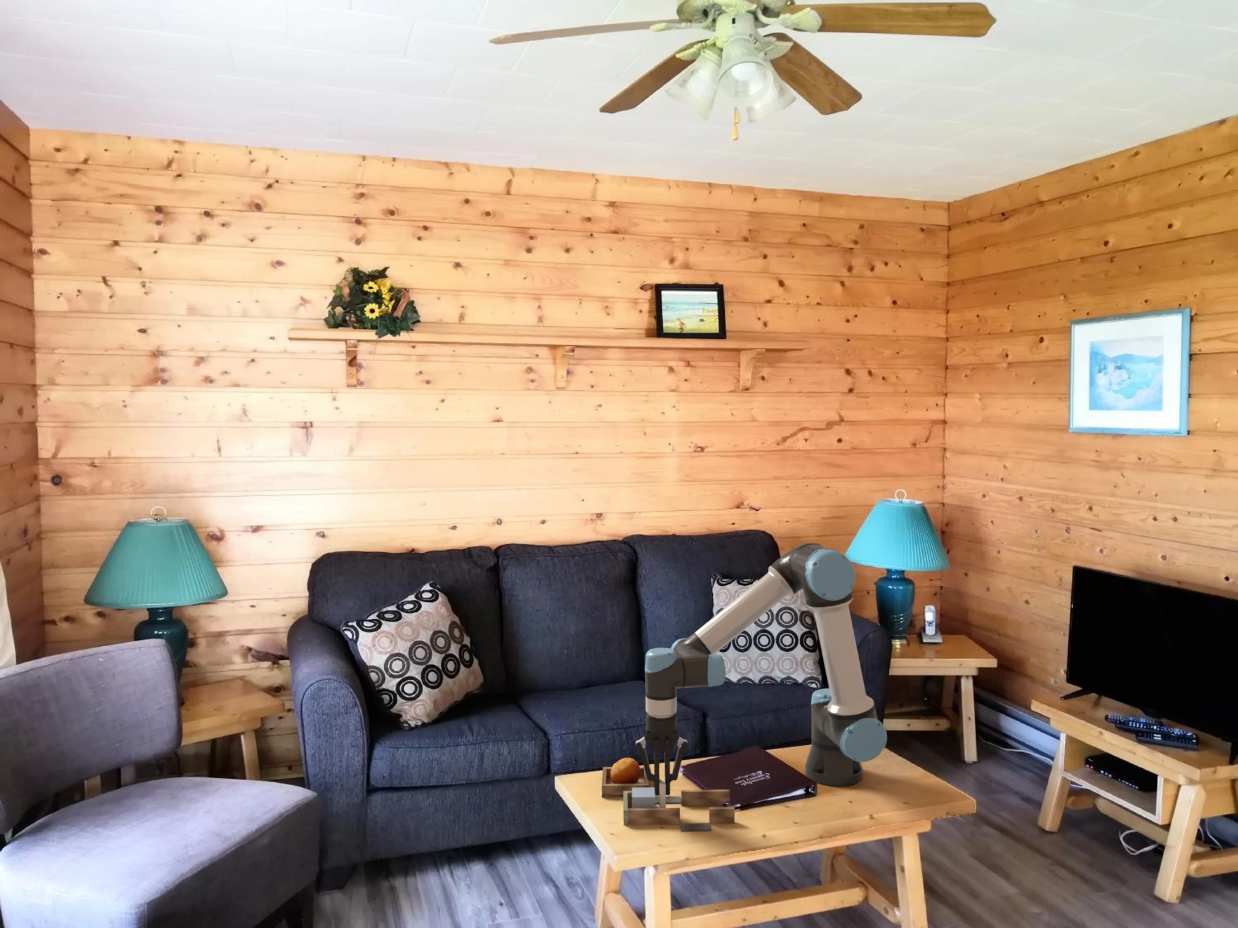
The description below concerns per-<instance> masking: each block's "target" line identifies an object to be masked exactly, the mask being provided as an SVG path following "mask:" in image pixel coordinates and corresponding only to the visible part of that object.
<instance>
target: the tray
mask: <svg viewBox="0 0 1238 928" xmlns="http://www.w3.org/2000/svg"><path fill="white" fill-rule="evenodd" d="M612 767H613V766H605V767H604V766H602V773H601V774H602V775H601V798H623V791H632V788H650V785H649V782H650V781H648V780H647V776H646V772H645V769H644V766H640V777H639V780H638V782H637V783H636V784H614V783H613V782H612V781H611V774H610V771H611V768H612ZM639 782H640V783H639Z"/></svg>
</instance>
